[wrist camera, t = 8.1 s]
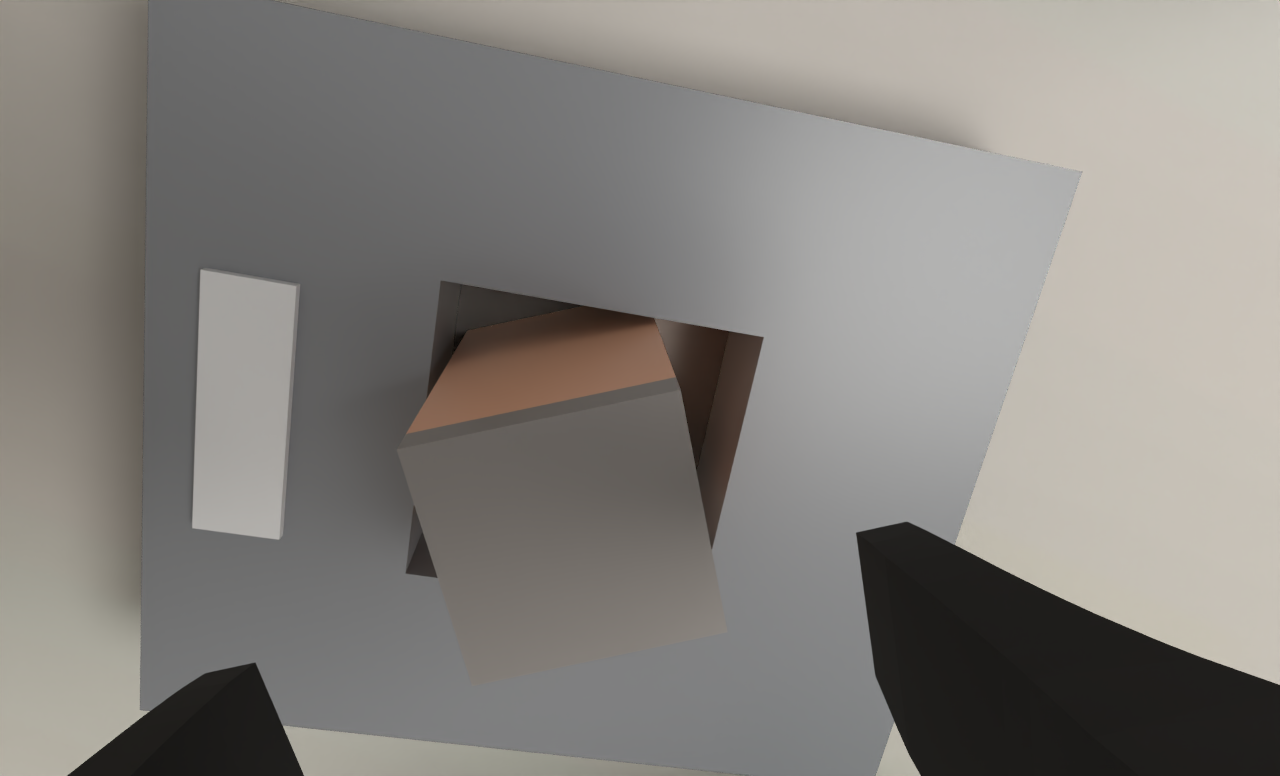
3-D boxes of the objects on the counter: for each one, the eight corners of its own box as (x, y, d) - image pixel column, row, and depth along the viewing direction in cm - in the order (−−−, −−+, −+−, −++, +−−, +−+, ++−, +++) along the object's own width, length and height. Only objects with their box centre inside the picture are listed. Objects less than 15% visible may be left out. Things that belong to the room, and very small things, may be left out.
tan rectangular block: (467, 330, 18) (396, 449, 11) (644, 292, 18) (680, 390, 11) (511, 491, 19) (472, 686, 12) (677, 456, 19) (727, 632, 12)
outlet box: (229, 3, 15) (142, -29, 12) (1000, 164, 17) (1088, 172, 14) (205, 625, 19) (134, 716, 16) (832, 700, 21) (874, 795, 18)
